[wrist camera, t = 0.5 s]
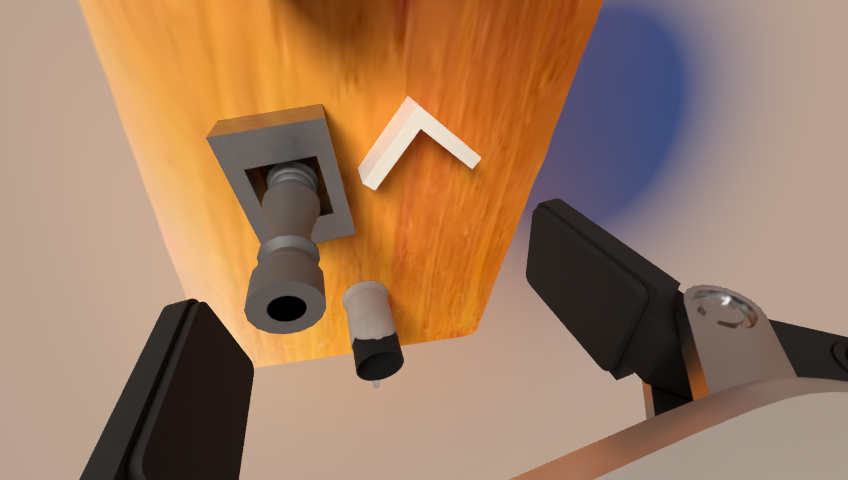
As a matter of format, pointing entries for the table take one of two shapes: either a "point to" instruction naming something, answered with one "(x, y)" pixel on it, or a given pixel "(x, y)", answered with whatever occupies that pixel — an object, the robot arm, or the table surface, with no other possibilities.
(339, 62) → the table surface
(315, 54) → the table surface
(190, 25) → the table surface
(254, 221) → the gray hollow block
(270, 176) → the candle holder
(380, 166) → the angle bracket
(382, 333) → the glass holder
